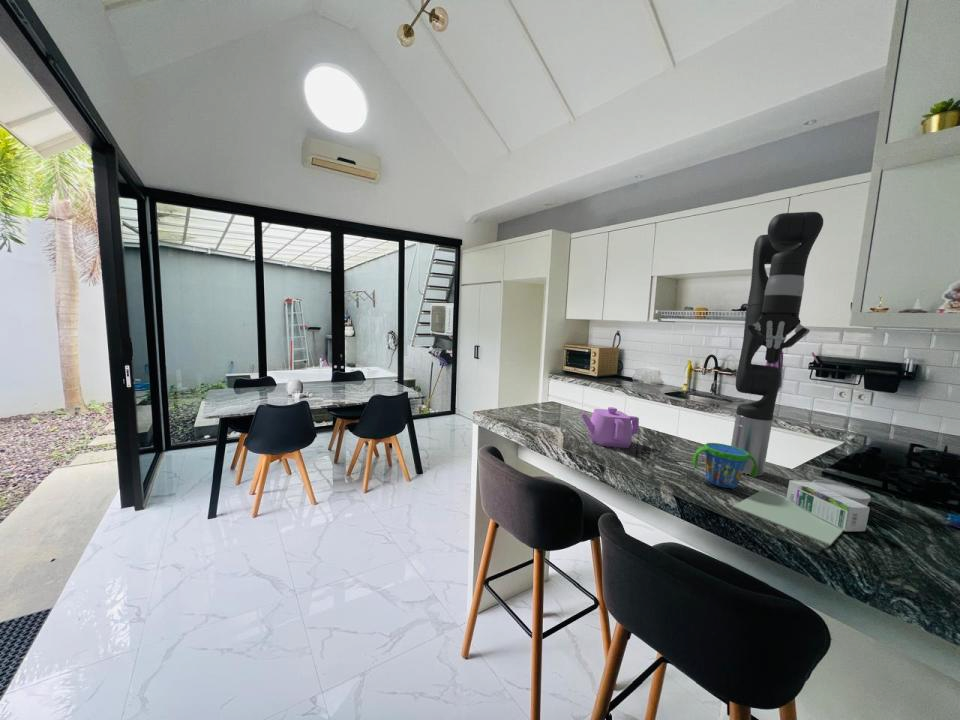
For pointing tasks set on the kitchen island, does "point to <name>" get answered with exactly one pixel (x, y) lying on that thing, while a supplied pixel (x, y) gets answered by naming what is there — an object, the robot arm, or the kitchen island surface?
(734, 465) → the snack cup
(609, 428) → the teakettle
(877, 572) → the kitchen island surface
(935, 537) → the kitchen island surface
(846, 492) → the ramekin
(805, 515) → the mat
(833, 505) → the syrup box
